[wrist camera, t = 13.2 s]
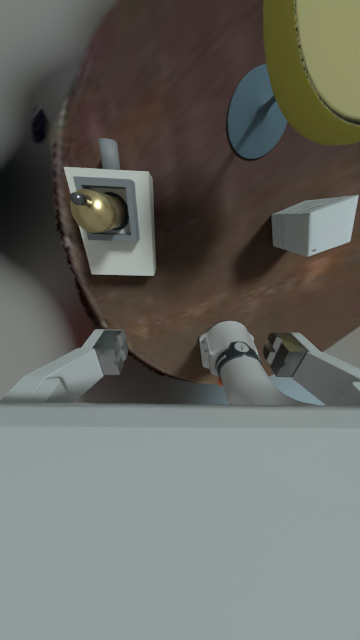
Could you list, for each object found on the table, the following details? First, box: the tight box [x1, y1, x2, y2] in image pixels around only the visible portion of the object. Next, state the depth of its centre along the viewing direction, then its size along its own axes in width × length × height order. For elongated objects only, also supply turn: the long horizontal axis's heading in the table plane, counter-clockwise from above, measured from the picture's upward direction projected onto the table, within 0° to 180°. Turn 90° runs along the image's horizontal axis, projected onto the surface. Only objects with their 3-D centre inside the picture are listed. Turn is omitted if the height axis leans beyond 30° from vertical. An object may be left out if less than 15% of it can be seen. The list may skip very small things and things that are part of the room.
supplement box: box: [271, 195, 359, 257], centre depth 33 cm, size 7×7×13 cm
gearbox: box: [64, 138, 156, 276], centre depth 32 cm, size 22×14×9 cm, turn 178°
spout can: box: [70, 189, 127, 233], centre depth 25 cm, size 5×5×13 cm
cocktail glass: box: [228, 0, 360, 159], centre depth 18 cm, size 18×18×25 cm
